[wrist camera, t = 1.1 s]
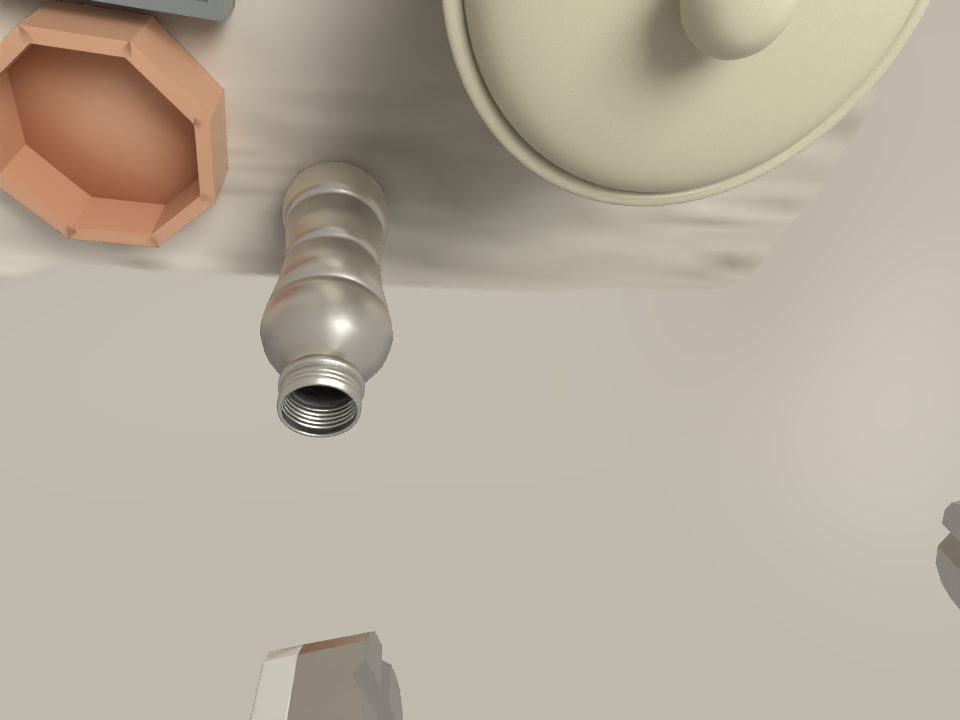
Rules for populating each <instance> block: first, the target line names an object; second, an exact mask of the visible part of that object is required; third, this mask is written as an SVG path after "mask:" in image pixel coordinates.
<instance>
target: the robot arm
mask: <svg viewBox="0 0 960 720" xmlns="http://www.w3.org/2000/svg"><path fill="white" fill-rule="evenodd" d="M942 523H943V525H944V526H945V527H946V528H947V529H948V530H949V531H950V532H951V533H950V534H949V535H948V536H947V537H946V538H945V539H944V540H943V541H942V542H941V543H940V544H939V545H938V549H937V558H936V565H937V569H938V572H939V576H940V579H941V582H942V584H943V586H944V588H945V589H946V591H947V593H948V595H949V596H950V598H951V599H952V600H953V601H954V603H955V604H956V605H957V606H958V608H959V609H960V501H957V502H953V503H951V504H950V505H949V506H948V507H947V508H946V509H945V513H944V517H943V522H942ZM381 659H382V645H381V643H380V641H379V639H378V637H377V635H376V633H375V632H367V633H362V634H357V635H352V636H346V637H341V638H336V639H331V640H325V641H320V642H315V643H310V644H304V645H300V646H295V647H290V648H285V649H281V650H276V651H271V652H269V653H268V655H267V657H266V659H265V661H264V662H263V664H262V668H261V673H260V678H259V682H258V687H257V691H256V696H255V701H254V705H253V710H252V714H251V719H250V720H402V705H401V696H400V689H399V686H398V682H397V678H396V675H395V673H394V671H393V668H392V666H391V665H390V664H388V663H386V662H384V661H382V660H381Z"/></svg>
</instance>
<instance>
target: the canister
mask: <svg viewBox="0 0 960 720" xmlns="http://www.w3.org/2000/svg"><path fill="white" fill-rule="evenodd" d="M441 1H442V10H443V17H444V23H445V28H446V33H447V37H448V41H449V45H450V49H451V52H452V56H453V59H454V62H455V65H456V68H457V71H458V73H459V76H460V79H461V81H462V83H463V86H464V88H465V90H466V92H467V94H468V96H469V98H470V100H471V102H472V104H473V106H474V107H475V109H476V111H477V113H478V114H479V116H480V117H481V119H482V120H483V122H484V123H485V125H486V126H487V127H488V129H489V130H490V131H491V133H492V134H493V135H494V136H495V138H496V139H497V140H498V141H499V142H500V143H501V145H502V146H503V147H504V148H505V149H506V150H507V151H508V152H509V153H510V154H511V155H512V156H513V157H514V158H516V159H517V160H518V161H519V162H520V163H521V164H523V165H524V166H525V167H526V168H528V169H529V170H530V171H532V172H533V173H535V174H536V175H538V176H539V177H541V178H542V179H544V180H546V181H547V182H549V183H551V184H553V185H555V186H557V187H559V188H561V189H563V190H565V191H568V192H570V193H573V194H575V195H578V196H581V197H584V198H588V199H591V200H595V201H599V202H604V203H610V204H616V205H625V206H663V205H672V204H679V203H685V202H690V201H695V200H699V199H703V198H707V197H710V196H714V195H717V194H720V193H723V192H726V191H728V190H731V189H734V188H736V187H739V186H741V185H743V184H746V183H748V182H750V181H752V180H754V179H757V178H759V177H760V176H762V175H764V174H766V173H768V172H770V171H772V170H774V169H775V168H777V167H779V166H780V165H782V164H784V163H785V162H787V161H789V160H790V159H792V158H793V157H795V156H796V155H798V154H799V153H800V152H802V151H803V150H805V149H806V148H807V147H809V146H810V145H812V144H813V143H814V142H815V141H817V140H818V139H819V138H821V137H822V136H823V135H824V134H825V133H827V132H828V131H829V130H830V129H831V128H832V127H834V126H835V125H836V124H837V123H838V122H839V121H840V120H841V119H842V118H843V117H844V116H845V115H846V114H848V113H849V112H850V111H851V110H852V109H853V108H854V107H855V106H856V104H857V103H858V102H859V101H860V100H861V99H862V98H863V97H864V96H865V95H866V94H867V93H868V91H869V90H870V89H871V88H872V87H873V86H874V85H875V83H876V82H877V81H878V80H879V79H880V77H881V76H882V75H883V74H884V72H885V71H886V70H887V68H888V67H889V66H890V64H891V63H892V62H893V60H894V59H895V58H896V56H897V55H898V53H899V52H900V51H901V49H902V48H903V46H904V45H905V43H906V42H907V40H908V38H909V37H910V35H911V34H912V32H913V30H914V29H915V27H916V26H917V24H918V22H919V20H920V19H921V17H922V15H923V13H924V11H925V9H926V8H927V6H928V4H929V2H930V0H441Z"/></svg>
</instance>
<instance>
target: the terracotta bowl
mask: <svg viewBox="0 0 960 720" xmlns="http://www.w3.org/2000/svg"><path fill="white" fill-rule="evenodd" d="M227 170H228V159H227V140H226V121H225V102H224V90H223V88H222V87H221V86H220V85H219V84H218V83H217V82H216V81H215V80H214V79H213V78H212V77H211V76H210V75H209V74H208V73H207V72H206V71H205V70H204V69H203V68H202V67H201V66H200V65H199V64H198V62H197V61H196V60H195V59H194V58H193V57H192V56H191V55H190V54H189V53H188V52H187V51H186V50H185V49H184V48H183V47H182V46H181V45H180V44H179V43H178V42H177V41H176V40H175V39H174V37H173V36H172V35H171V34H170V33H169V32H168V31H167V30H166V29H165V28H164V27H163V26H162V25H161V24H160V23H159V22H158V21H157V20H156V19H155V18H154V17H153V16H151V15H145V14H139V13H133V12H127V11H121V10H114V9H108V8H102V7H96V6H90V5H84V4H78V3H71V2H65V1H59V0H50V1H49V2H47V3H46V4H45V5H43V6H42V7H41V8H39V9H38V10H37V11H35V12H34V13H33V14H31V15H30V16H29V17H27V18H26V19H25V20H23V21H22V22H21V23H19V24H18V25H17V26H16V28H15V29H14V30H13V31H12V32H11V33H10V34H9V35H8V36H7V37H6V38H5V39H4V40H3V41H2V42H1V43H0V188H1V189H2V190H3V191H5V192H6V193H7V194H9V195H10V196H11V197H13V198H14V199H16V200H17V201H18V202H20V203H21V204H22V205H24V206H25V207H26V208H28V209H29V210H30V211H32V212H33V213H34V214H36V215H37V216H38V217H40V218H41V219H42V220H44V221H45V222H46V223H48V224H49V225H51V226H52V227H53V228H55V229H56V230H57V231H59V232H60V233H61V234H63V235H64V236H65V237H67V238H68V239H77V240H88V241H98V242H108V243H118V244H129V245H139V246H149V247H159V246H160V245H162V244H163V243H164V242H165V241H167V240H168V239H169V238H171V237H172V236H173V235H174V234H176V233H177V232H178V231H180V230H181V229H182V228H183V227H185V226H186V225H187V224H189V223H190V222H191V221H192V220H194V219H195V218H196V217H198V216H199V215H200V214H201V213H203V212H204V211H205V210H207V209H208V208H209V207H210V206H212V205H213V204H214V203H215V202H216V200H217V197H218V194H219V191H220V189H221V186H222V183H223V180H224V178H225V175H226V172H227Z"/></svg>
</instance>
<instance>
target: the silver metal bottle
mask: <svg viewBox="0 0 960 720" xmlns="http://www.w3.org/2000/svg"><path fill="white" fill-rule="evenodd" d="M282 212H283V224H284V230H285V234H286V249H285V258H284V262H283V266H282V269H281V273H280V276H279V279H278V282H277V284H276V286H275V288H274V290H273V293H272V295H271V297H270V299H269V302H268V304H267V306H266V309H265V311H264V314H263V318H262V321H261V327H260V328H261V329H260V335H261V340H262V344H263V348H264V351H265V354H266V356H267V358H268V360H269V362H270V363H271V364H272V366H273V367H274V368H275V369H276V371H277V372H278V373H279V374H280V377H279V383H278V392H279V395H278V401H277V412H278V415H279V418H280V420H281V421H282V422H283V423H284V425H286V426H287V427H288V428H289V429H291V430H293V431H294V432H297V433H299V434H302V435H305V436H310V437H330V436H336V435H339V434H342V433H344V432H346V431H348V430H349V429H351V428H352V427H353V426H354V425H355V424H356V423H357V421H358V419H359V417H360V413H361V405H362V399H363V396H364V392H365V382H367V381H368V380H369V379H370V378H371V377H373V376H374V375H375V374H376V373H377V372H378V371H379V370H380V369H381V367H382V366H383V364H384V362H385V360H386V358H387V356H388V354H389V351H390V349H391V345H392V341H393V333H392V332H393V331H392V324H391V318H390V315H389V311H388V307H387V303H386V300H385V296H384V292H383V287H382V278H381V268H380V262H381V255H382V247H383V244H384V242H385V239H386V235H387V231H388V226H389V221H390V211H389V207H388V203H387V201H386V198H385V195H384V193H383V191H382V189H381V187H380V185H379V184H378V183H377V181H376V180H375V179H374V178H373V177H372V176H371V175H370V174H368V173H367V172H366V171H364V170H362V169H361V168H359V167H357V166H354V165H351V164H348V163H343V162H323V163H318V164H316V165H313V166H310V167H308V168H307V169H305V170H304V171H302V172H301V173H300V174H299V175H298V176H297V177H296V178H295V180H294V181H293V183H292V184H291V186H290V188H289V189H288V191H287V192H286V195H285V198H284V201H283V209H282Z"/></svg>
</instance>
